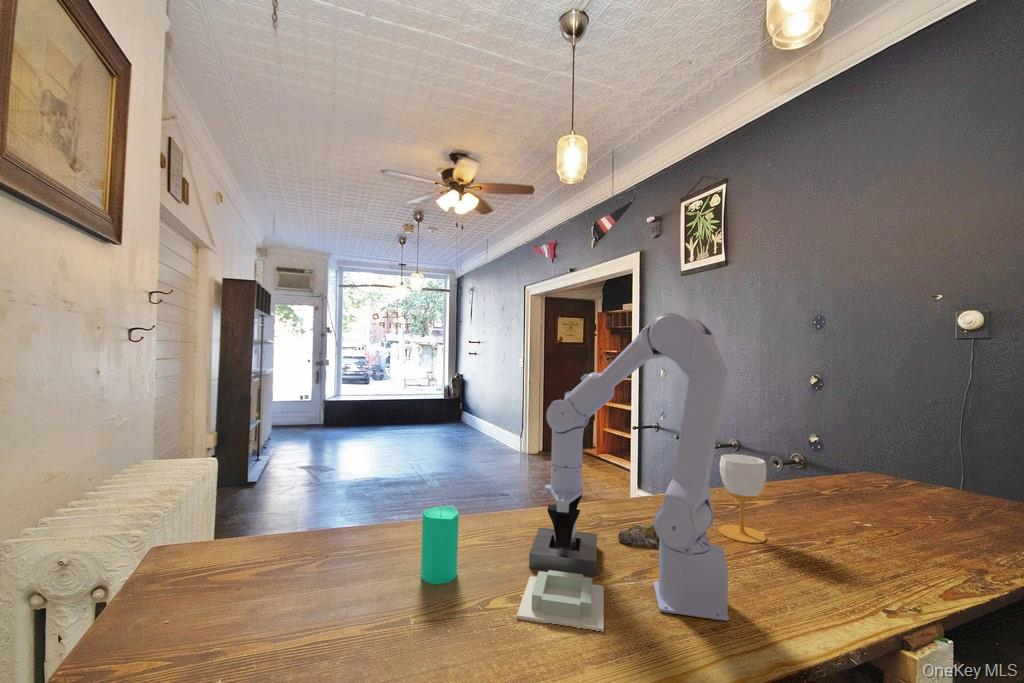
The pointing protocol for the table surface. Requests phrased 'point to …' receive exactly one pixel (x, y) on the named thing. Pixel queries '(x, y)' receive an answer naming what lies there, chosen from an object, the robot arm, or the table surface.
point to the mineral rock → (640, 536)
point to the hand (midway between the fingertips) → (565, 538)
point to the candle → (439, 544)
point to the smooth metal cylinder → (573, 541)
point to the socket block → (564, 553)
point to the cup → (742, 491)
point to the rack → (563, 600)
